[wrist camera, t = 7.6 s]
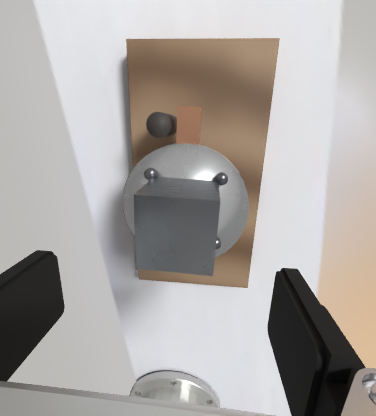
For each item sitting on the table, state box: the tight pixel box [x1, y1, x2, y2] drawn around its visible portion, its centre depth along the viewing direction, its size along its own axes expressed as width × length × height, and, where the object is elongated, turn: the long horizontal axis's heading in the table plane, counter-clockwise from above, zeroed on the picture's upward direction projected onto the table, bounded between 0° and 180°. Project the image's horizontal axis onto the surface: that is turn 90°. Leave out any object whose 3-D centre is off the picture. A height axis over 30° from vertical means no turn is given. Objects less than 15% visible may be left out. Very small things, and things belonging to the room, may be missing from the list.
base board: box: [126, 38, 280, 288], centre depth 20 cm, size 21×11×6 cm, turn 179°
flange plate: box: [123, 106, 249, 276], centre depth 15 cm, size 11×9×6 cm
